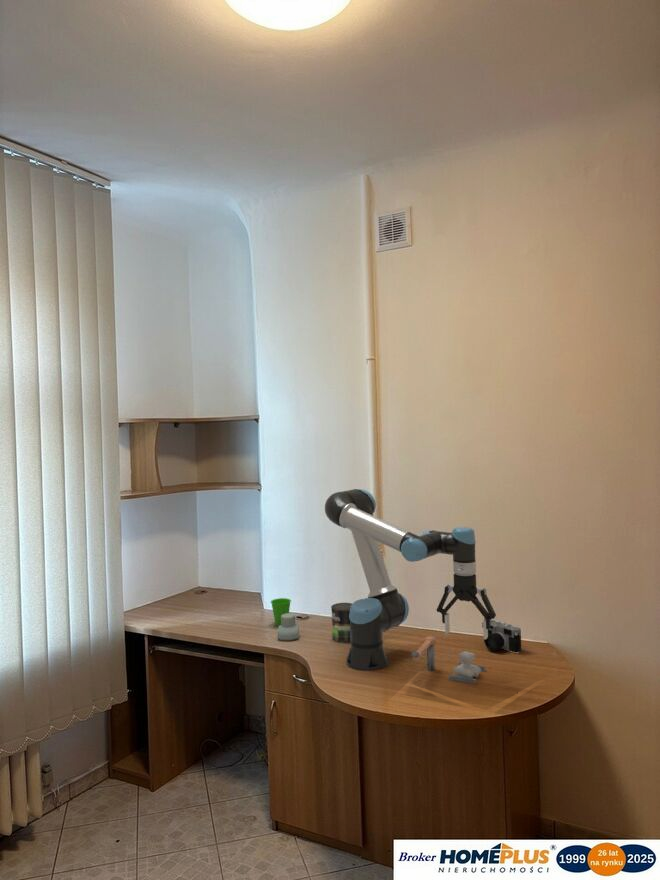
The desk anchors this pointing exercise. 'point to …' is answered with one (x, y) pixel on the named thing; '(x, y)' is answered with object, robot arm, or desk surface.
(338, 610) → the coffee can
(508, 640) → the camera
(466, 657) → the stamp
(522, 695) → the desk surface
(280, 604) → the cup
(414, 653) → the ball-knob lever
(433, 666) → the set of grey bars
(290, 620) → the air freshener
